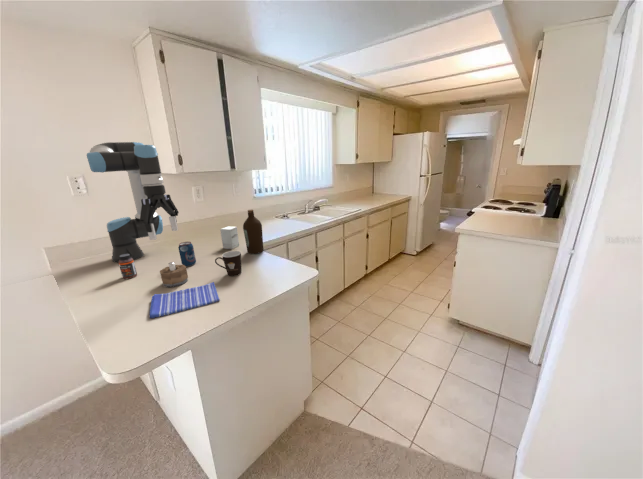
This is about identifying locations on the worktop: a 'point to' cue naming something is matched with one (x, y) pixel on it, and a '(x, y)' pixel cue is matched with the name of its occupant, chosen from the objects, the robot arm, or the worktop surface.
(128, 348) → the worktop surface
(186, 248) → the soda can
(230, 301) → the worktop surface
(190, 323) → the worktop surface
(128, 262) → the supplement bottle
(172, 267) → the silver peg stand
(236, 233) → the supplement box
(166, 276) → the walnut ring
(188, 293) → the dish towel
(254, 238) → the olive oil
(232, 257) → the coffee mug
